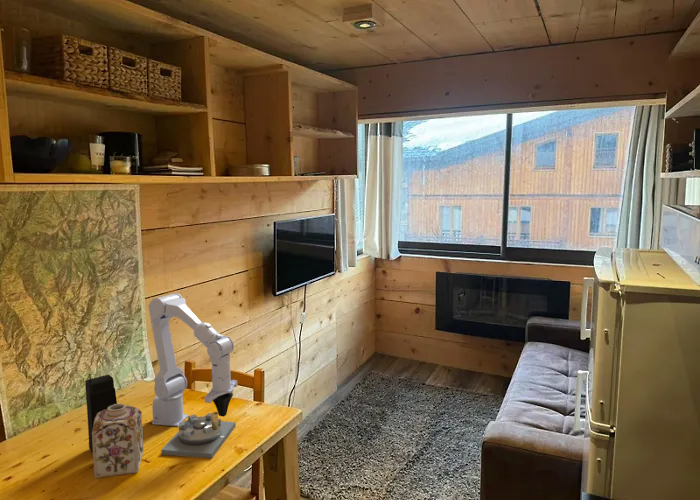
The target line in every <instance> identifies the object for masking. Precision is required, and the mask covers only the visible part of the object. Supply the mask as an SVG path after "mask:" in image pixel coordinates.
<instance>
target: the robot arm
mask: <svg viewBox="0 0 700 500" xmlns="http://www.w3.org/2000/svg"><path fill="white" fill-rule="evenodd" d="M148 311H149V317H150V323H151V329H152V334H153V340H154V345H155V351H156V356H157V357H156V358H157V363H158V367H159V370H158V372H157V374H156V376H155V377H154V394H155V396H154V398H153V401H152V404H151V405H152V407H151V409H152V422H151V424H152V425H157V426H171V427H172V426H173V427H179V422H185V421H186V419H187V418H188V416H189V414H188V413H184V402H183V400H184V398H183V394H184V393H185V390H186V389H187V388H188V380H187V377H186V376H185V374H184V370H183V369H182V368H180V367H179V366H177V362H176V356H175V351H174V350H175V349H174V345H173V339H172V333H171V330H170V323H169V322H170V320H171V319H172V318H173V317H177V318H178V319H179V320H180V321H182V322H183V323H185V325H187V326H188V327H189V328H190V329H192V330H193V337H195V338H196V339H197V340H198V341H199V342H200V343H201V344H203V346H205V347H206V352H207V355H208V356H209V359H210V363H211V379H212V380H211V382H212V383H211V384H212V385H211V386H212V388H211V389H210V391H209V392H208V393H207V394H206V395H205V396H204V403H207V404H211V403H214V405H215V409H216V410H217V413H218V417H226V416H227V414H228V413H227V412H228V409H229V405H230V402H231V400H232V398H233V396H234V393H233V392H234V388H237V387H238V382H239V381H238V380H236V379H231V353H232V352H233V351H234V347H235V345H234V342H233V340H232V339H231V338H230V336H227V335H223V334H220V333H219V332H218V331H217V330H216V329H215V328H214V327H213V326H212V324H210V322H209V323H208V322H202V321H201V320H200V319H199V318H198V317H197V315H196V314H195V313H194V312H193V311H192V310H191V309H190V308H189V307H188V306H187V301H186V298H184V297H183V296H182V294H180V293H179V292H174V293H171V294H167V295H164V296H159V297H154V298H153V299H151V301H150V302H149V304H148Z"/></svg>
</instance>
